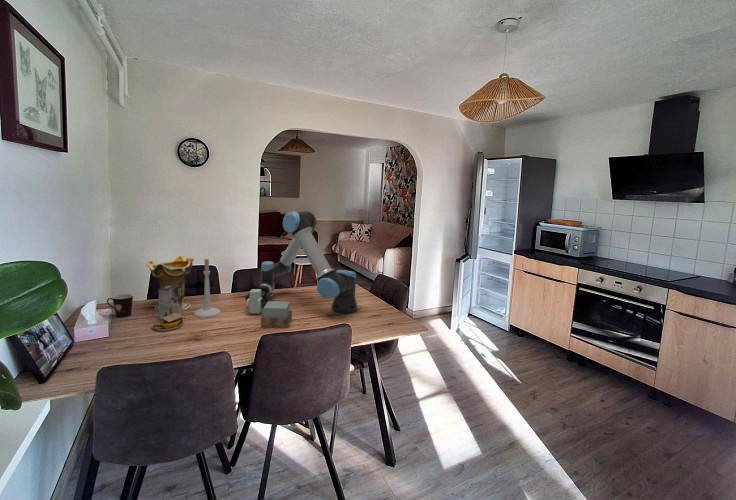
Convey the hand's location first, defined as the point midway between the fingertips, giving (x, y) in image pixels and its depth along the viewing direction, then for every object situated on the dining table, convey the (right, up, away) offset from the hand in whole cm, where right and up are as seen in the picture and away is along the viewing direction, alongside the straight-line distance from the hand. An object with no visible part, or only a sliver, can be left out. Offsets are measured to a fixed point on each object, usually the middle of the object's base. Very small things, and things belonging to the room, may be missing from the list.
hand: (253, 303), depth 189 cm
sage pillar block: (-1, -6, +6) cm, 8 cm away
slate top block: (+14, -5, -6) cm, 16 cm away
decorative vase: (-48, -4, +11) cm, 49 cm away
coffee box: (-40, -7, -6) cm, 41 cm away
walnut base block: (+14, -10, -5) cm, 18 cm away
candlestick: (-25, -6, +3) cm, 26 cm away
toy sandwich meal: (-35, -9, -17) cm, 40 cm away
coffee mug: (-65, -5, -6) cm, 65 cm away
